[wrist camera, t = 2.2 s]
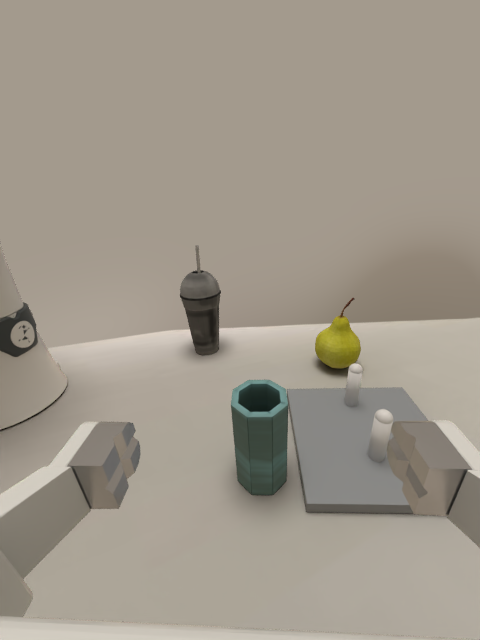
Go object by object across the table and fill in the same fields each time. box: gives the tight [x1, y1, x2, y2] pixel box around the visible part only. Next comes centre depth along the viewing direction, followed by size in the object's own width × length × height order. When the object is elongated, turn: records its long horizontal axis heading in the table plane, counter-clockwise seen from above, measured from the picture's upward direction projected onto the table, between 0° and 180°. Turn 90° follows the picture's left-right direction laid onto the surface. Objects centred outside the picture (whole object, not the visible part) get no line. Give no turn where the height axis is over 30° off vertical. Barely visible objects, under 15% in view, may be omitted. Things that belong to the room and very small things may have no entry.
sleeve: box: [231, 380, 288, 495], centre depth 27 cm, size 5×5×10 cm
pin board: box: [287, 363, 428, 514], centre depth 30 cm, size 16×16×7 cm
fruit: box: [315, 298, 361, 368], centre depth 43 cm, size 7×7×12 cm
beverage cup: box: [180, 246, 221, 355], centre depth 49 cm, size 7×7×20 cm
